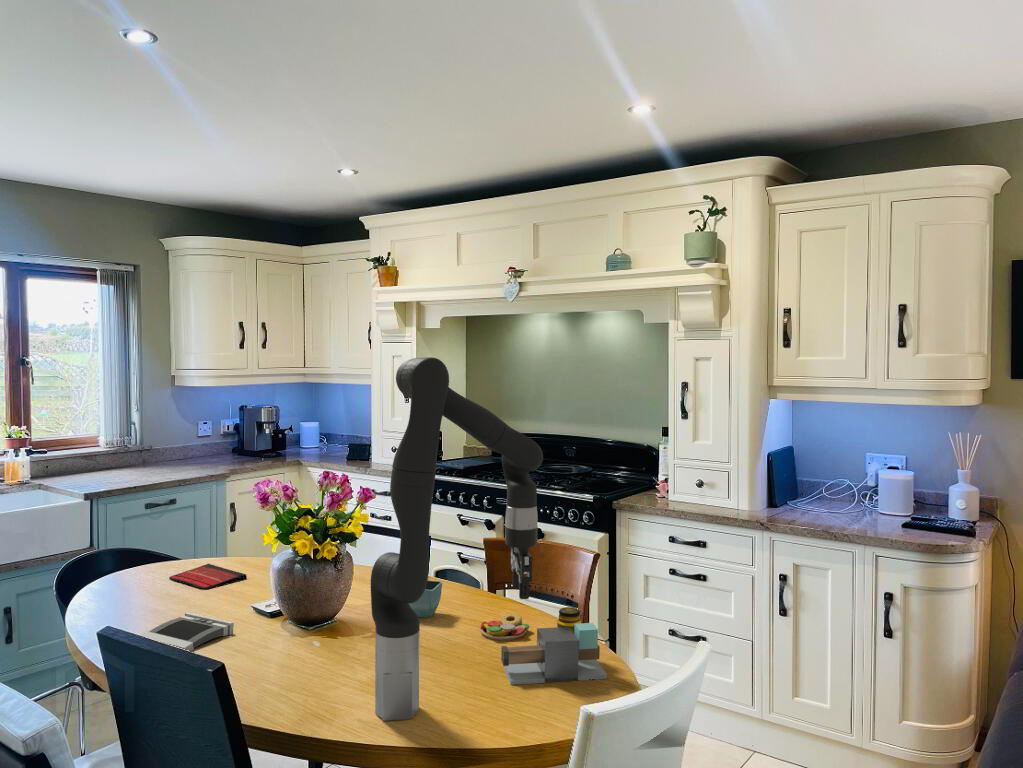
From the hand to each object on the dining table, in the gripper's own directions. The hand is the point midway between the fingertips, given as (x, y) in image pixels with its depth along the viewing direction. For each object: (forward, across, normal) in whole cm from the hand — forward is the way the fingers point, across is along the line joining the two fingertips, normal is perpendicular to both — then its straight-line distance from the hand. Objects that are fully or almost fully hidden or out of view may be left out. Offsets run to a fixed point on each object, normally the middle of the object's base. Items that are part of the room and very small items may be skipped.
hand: (520, 593), depth 180 cm
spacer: (+13, 0, -16) cm, 21 cm away
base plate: (+20, 0, -8) cm, 22 cm away
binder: (+20, +91, +89) cm, 129 cm away
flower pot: (+20, +45, +20) cm, 53 cm away
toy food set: (+20, +28, -1) cm, 35 cm away
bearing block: (+20, 0, -9) cm, 22 cm away
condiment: (+20, +10, -14) cm, 26 cm away
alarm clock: (+20, +37, +83) cm, 93 cm away
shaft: (+16, 0, -7) cm, 18 cm away
